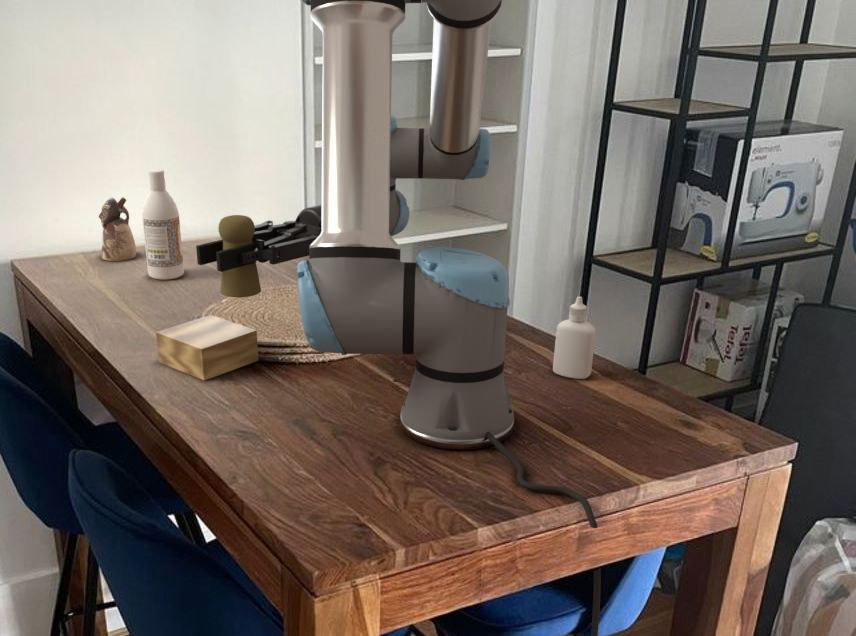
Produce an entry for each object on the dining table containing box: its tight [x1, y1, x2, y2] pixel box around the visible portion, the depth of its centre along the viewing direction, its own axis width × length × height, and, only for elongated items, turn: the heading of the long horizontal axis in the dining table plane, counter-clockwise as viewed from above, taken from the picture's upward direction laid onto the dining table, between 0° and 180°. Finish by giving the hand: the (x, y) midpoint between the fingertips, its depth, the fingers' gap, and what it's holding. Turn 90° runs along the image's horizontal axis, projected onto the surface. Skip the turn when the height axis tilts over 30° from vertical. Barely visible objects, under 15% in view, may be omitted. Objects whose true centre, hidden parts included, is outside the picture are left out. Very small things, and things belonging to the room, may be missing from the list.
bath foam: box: [141, 168, 185, 281], centre depth 194 cm, size 7×7×20 cm
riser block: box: [155, 314, 259, 381], centre depth 158 cm, size 11×11×5 cm
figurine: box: [98, 196, 137, 262], centre depth 208 cm, size 7×7×12 cm
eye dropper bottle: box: [552, 295, 596, 380], centre depth 150 cm, size 4×6×12 cm
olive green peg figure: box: [217, 214, 262, 299], centre depth 148 cm, size 6×6×11 cm
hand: (208, 258), depth 145 cm, fingers closed on olive green peg figure, 4 cm apart
